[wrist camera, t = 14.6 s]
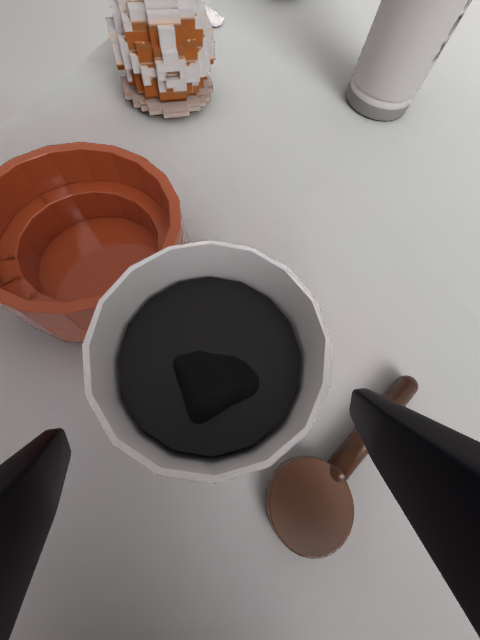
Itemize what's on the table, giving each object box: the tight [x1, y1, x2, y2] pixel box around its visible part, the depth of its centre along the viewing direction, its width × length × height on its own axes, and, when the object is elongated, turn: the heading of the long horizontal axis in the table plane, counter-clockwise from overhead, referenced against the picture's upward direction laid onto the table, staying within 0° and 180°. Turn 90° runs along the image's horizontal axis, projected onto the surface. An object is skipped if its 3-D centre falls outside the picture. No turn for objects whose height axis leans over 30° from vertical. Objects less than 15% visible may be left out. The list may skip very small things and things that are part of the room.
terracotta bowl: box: [0, 142, 185, 342], centre depth 17 cm, size 11×11×5 cm
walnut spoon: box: [266, 376, 418, 558], centre depth 16 cm, size 12×4×1 cm, turn 133°
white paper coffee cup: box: [82, 240, 332, 484], centre depth 12 cm, size 7×7×10 cm
